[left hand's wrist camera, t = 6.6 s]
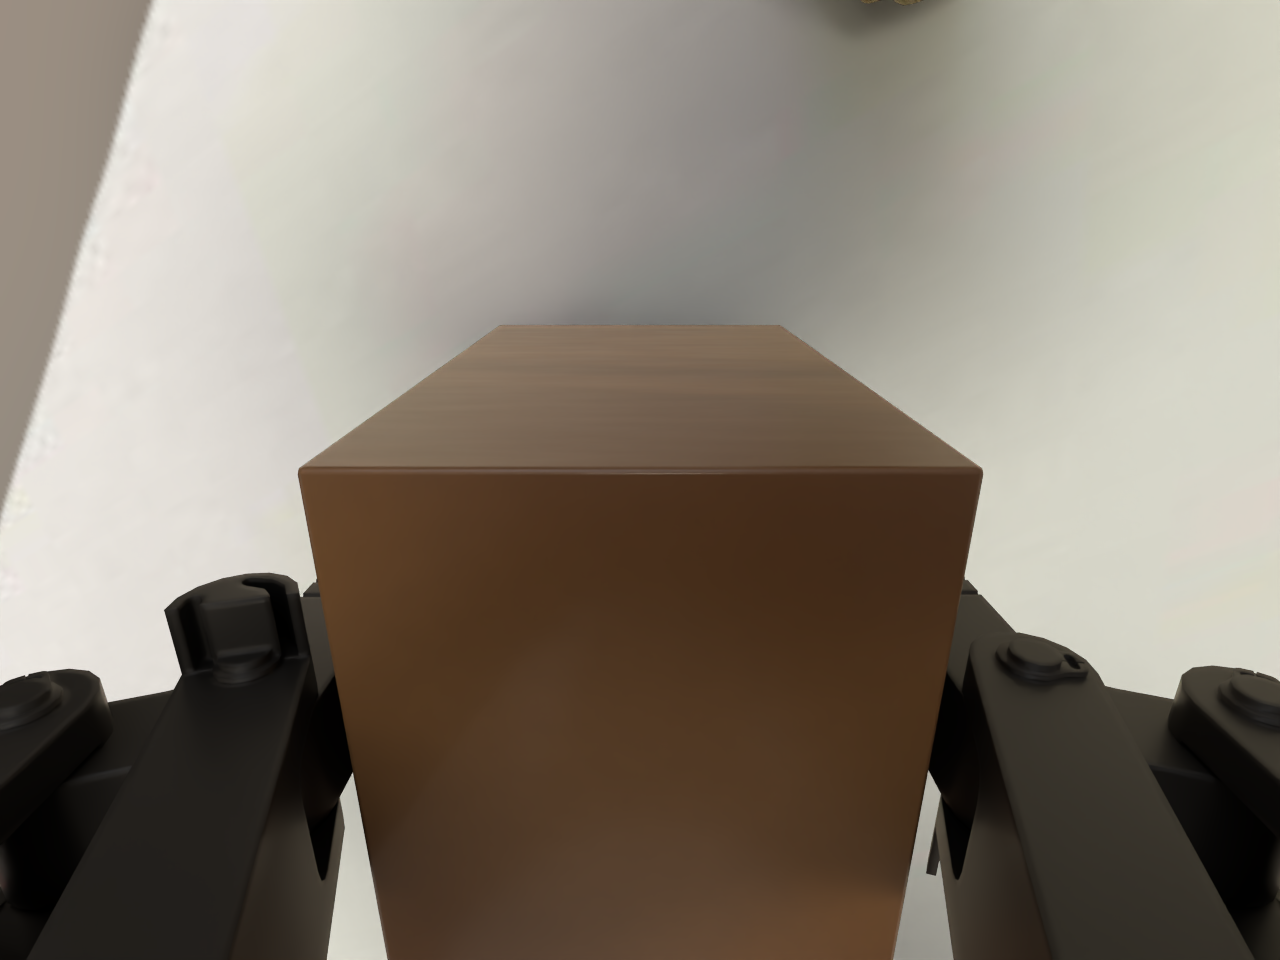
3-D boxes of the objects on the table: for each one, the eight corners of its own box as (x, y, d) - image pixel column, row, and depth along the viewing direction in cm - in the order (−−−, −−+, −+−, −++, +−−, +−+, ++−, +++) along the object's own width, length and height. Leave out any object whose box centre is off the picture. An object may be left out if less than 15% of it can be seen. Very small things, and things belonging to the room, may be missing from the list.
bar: (498, 325, 13) (292, 468, 5) (782, 324, 13) (987, 467, 5) (549, 1045, 21) (494, 1544, 13) (730, 1046, 21) (785, 1544, 13)
